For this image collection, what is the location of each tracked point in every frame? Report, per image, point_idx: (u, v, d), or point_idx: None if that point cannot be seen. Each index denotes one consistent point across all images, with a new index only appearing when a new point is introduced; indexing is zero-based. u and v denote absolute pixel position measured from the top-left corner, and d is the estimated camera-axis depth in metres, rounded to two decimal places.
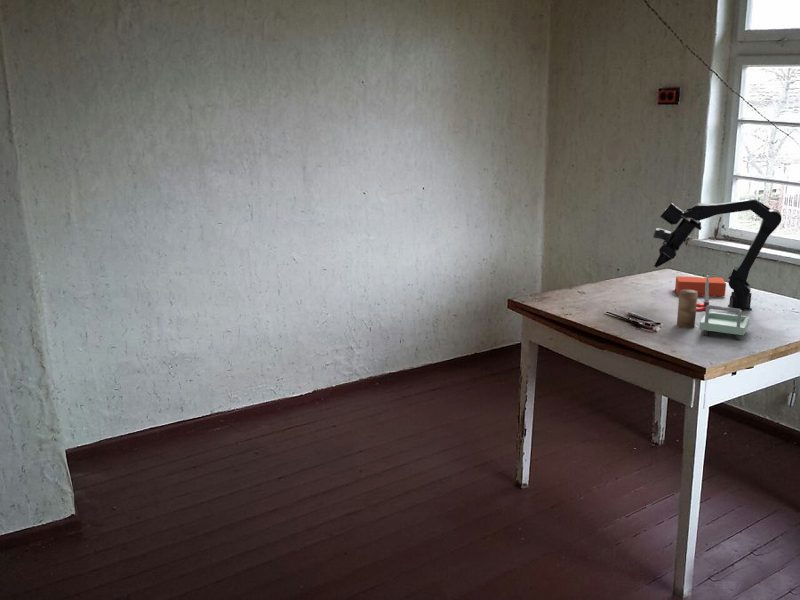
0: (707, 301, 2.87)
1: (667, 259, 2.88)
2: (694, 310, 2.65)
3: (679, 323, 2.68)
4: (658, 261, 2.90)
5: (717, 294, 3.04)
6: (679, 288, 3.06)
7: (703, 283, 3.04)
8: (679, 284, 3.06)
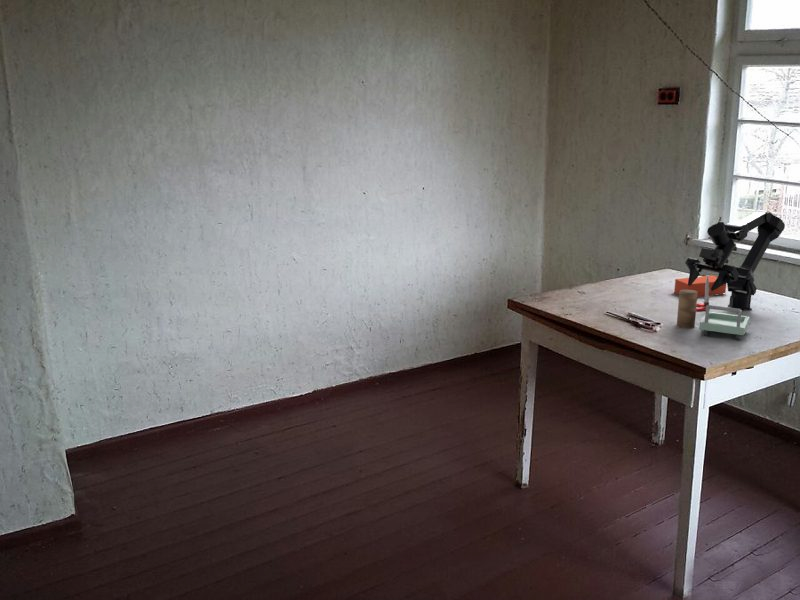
0: (707, 301, 2.87)
1: (725, 282, 2.66)
2: (694, 310, 2.65)
3: (679, 323, 2.68)
4: (716, 283, 2.65)
5: (719, 292, 3.06)
6: None
7: None
8: (688, 287, 3.02)
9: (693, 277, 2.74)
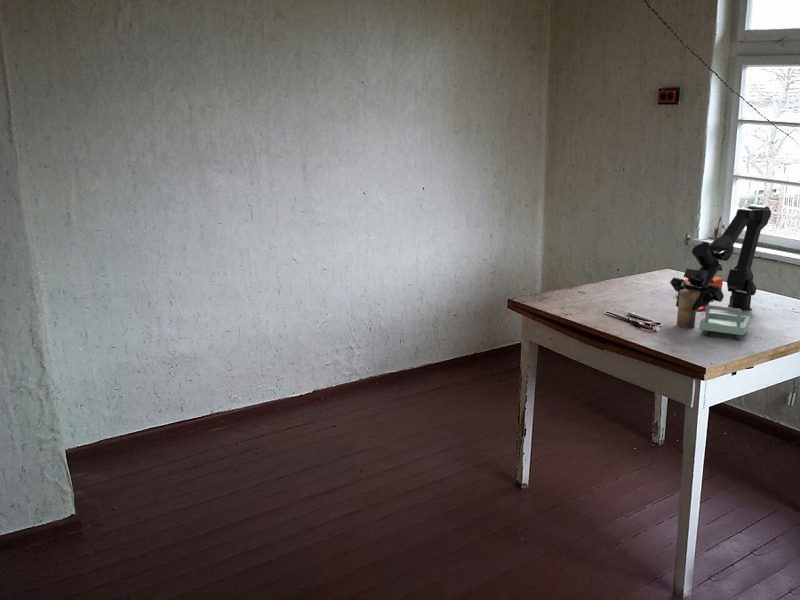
0: None
1: (706, 302, 2.65)
2: None
3: (679, 323, 2.68)
4: (697, 304, 2.64)
5: None
6: (699, 292, 3.00)
7: None
8: None
9: None
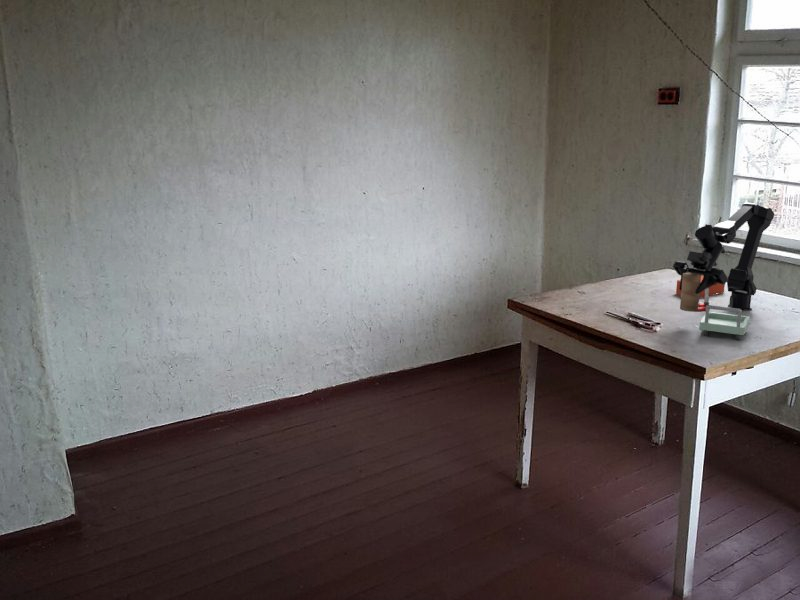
0: (707, 301, 2.87)
1: (710, 284, 2.63)
2: None
3: (682, 307, 2.66)
4: (701, 286, 2.62)
5: (719, 291, 3.08)
6: None
7: None
8: None
9: None
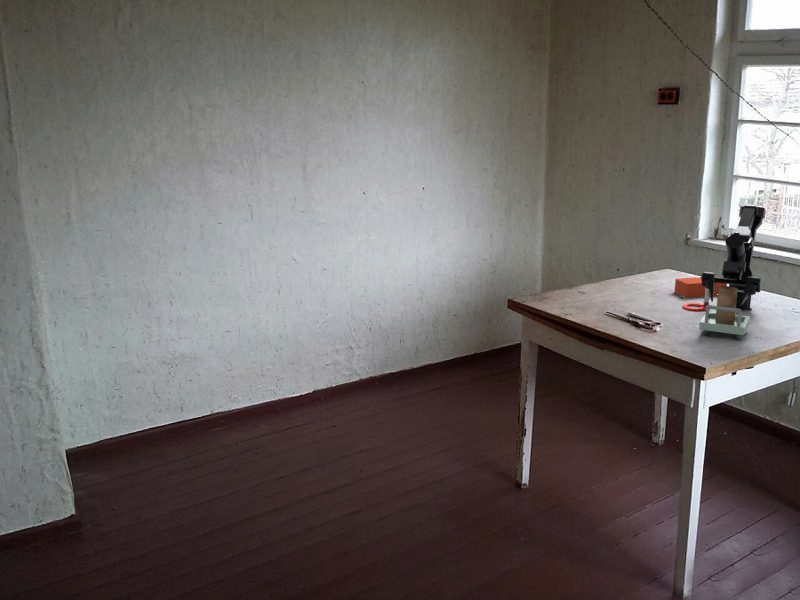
0: (707, 301, 2.87)
1: (749, 294, 2.56)
2: (735, 307, 2.56)
3: (721, 322, 2.57)
4: (744, 297, 2.54)
5: None
6: (688, 290, 3.03)
7: None
8: (688, 286, 3.02)
9: (713, 292, 2.60)
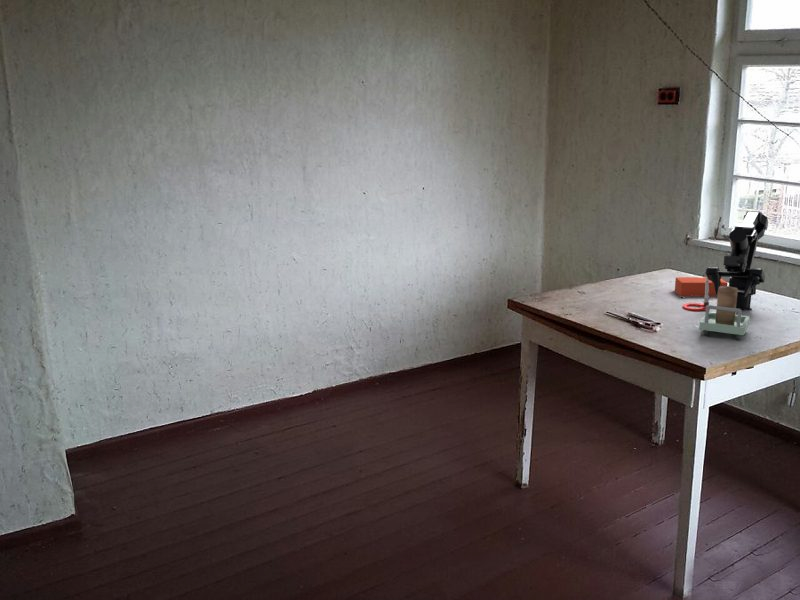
0: (707, 301, 2.87)
1: (753, 285, 2.63)
2: (735, 307, 2.56)
3: (721, 322, 2.57)
4: (748, 289, 2.61)
5: None
6: (682, 289, 3.05)
7: None
8: (682, 285, 3.04)
9: (718, 286, 2.68)
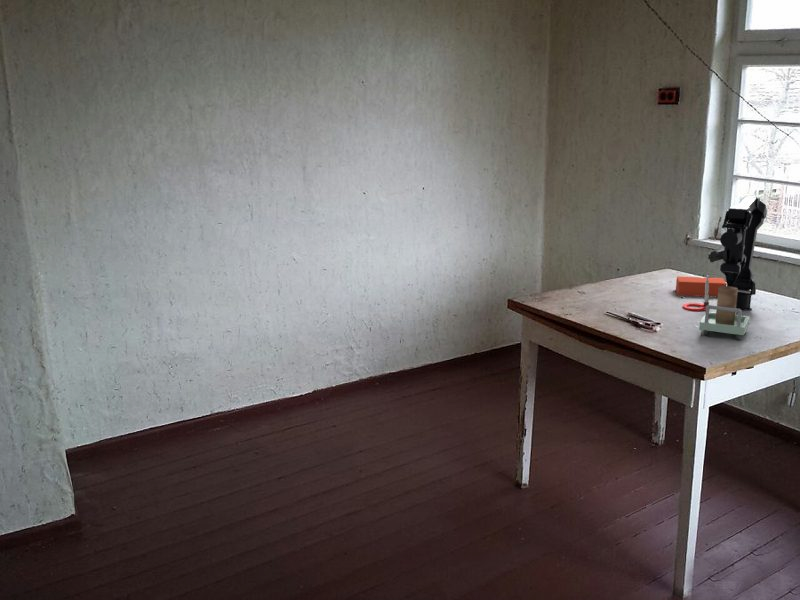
0: (707, 301, 2.87)
1: (735, 275, 2.62)
2: (735, 307, 2.56)
3: (721, 322, 2.57)
4: (728, 282, 2.65)
5: None
6: (679, 288, 3.06)
7: (704, 283, 3.03)
8: (679, 284, 3.06)
9: None
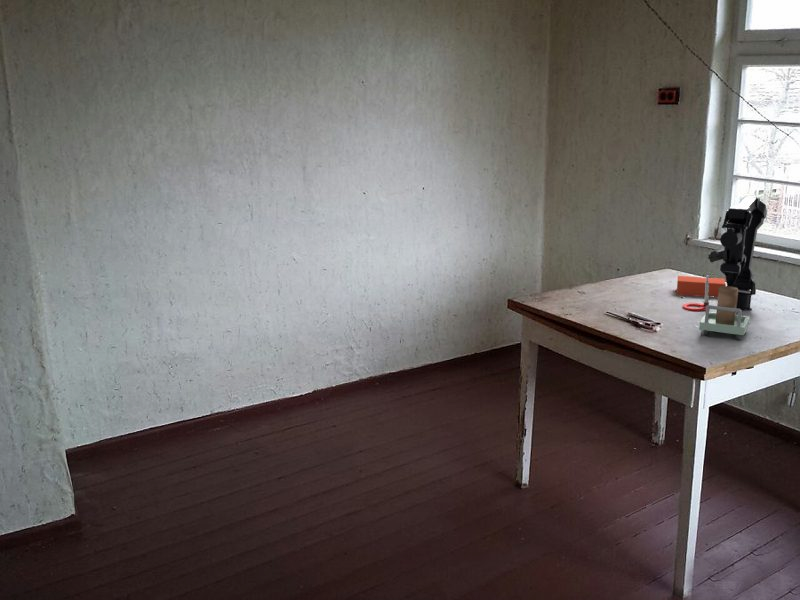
0: (707, 301, 2.87)
1: (735, 275, 2.62)
2: None
3: (721, 322, 2.57)
4: (728, 282, 2.65)
5: (716, 295, 3.03)
6: (678, 287, 3.07)
7: (702, 283, 3.04)
8: (678, 283, 3.07)
9: None
